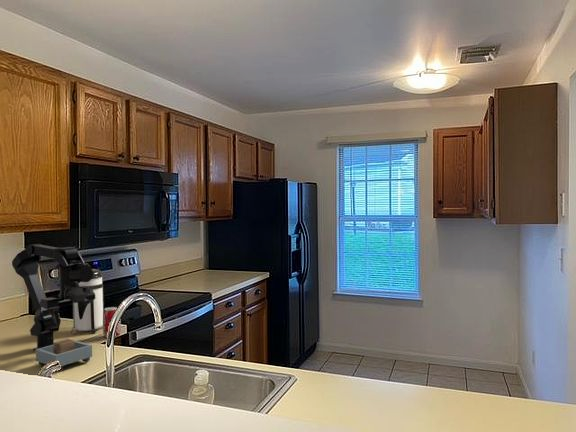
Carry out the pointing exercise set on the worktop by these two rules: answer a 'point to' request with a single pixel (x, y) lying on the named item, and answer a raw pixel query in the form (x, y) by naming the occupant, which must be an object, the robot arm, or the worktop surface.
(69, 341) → the walnut block
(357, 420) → the worktop surface
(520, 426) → the worktop surface
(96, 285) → the coffee press
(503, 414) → the worktop surface
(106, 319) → the soda can
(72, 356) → the cart
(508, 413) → the worktop surface
